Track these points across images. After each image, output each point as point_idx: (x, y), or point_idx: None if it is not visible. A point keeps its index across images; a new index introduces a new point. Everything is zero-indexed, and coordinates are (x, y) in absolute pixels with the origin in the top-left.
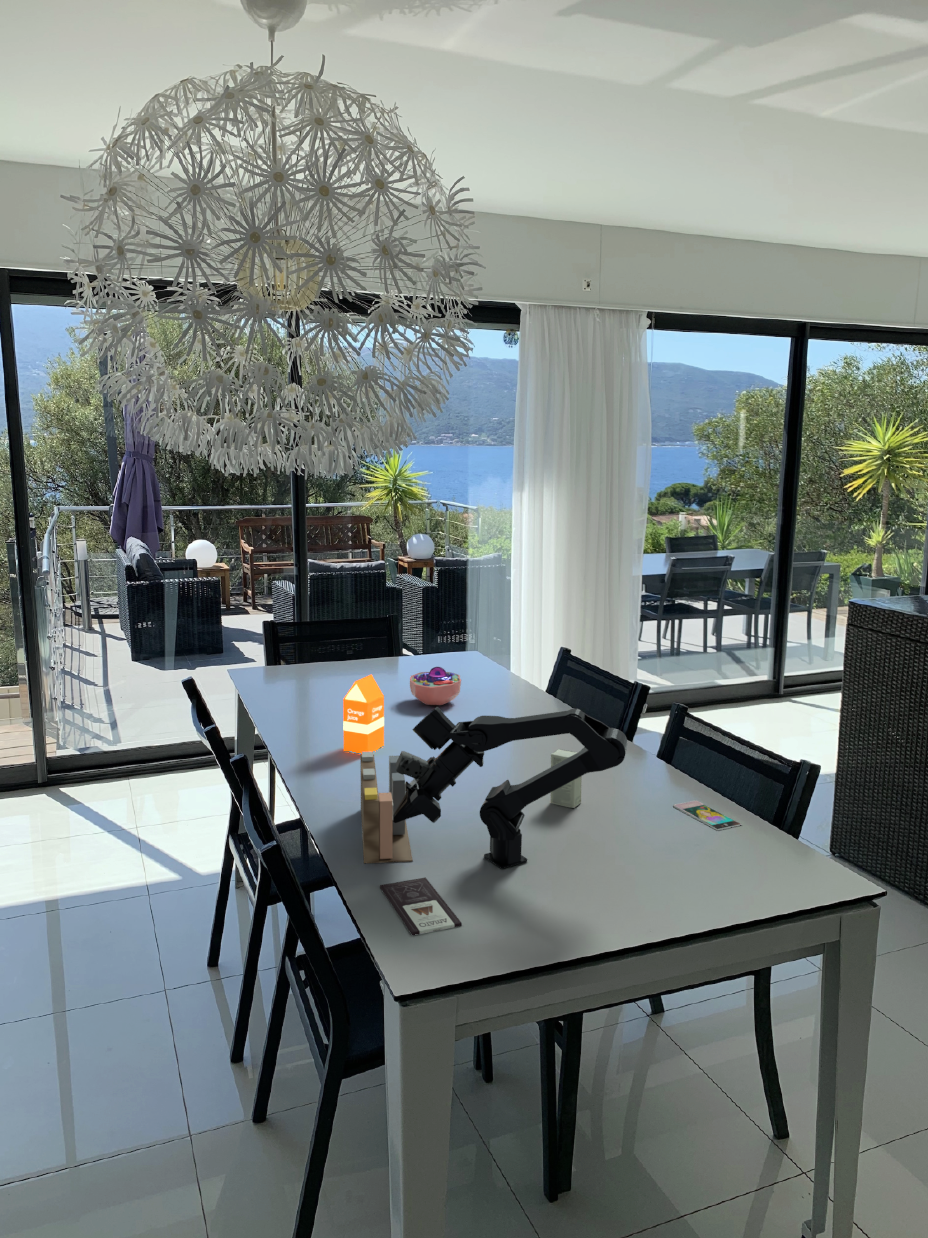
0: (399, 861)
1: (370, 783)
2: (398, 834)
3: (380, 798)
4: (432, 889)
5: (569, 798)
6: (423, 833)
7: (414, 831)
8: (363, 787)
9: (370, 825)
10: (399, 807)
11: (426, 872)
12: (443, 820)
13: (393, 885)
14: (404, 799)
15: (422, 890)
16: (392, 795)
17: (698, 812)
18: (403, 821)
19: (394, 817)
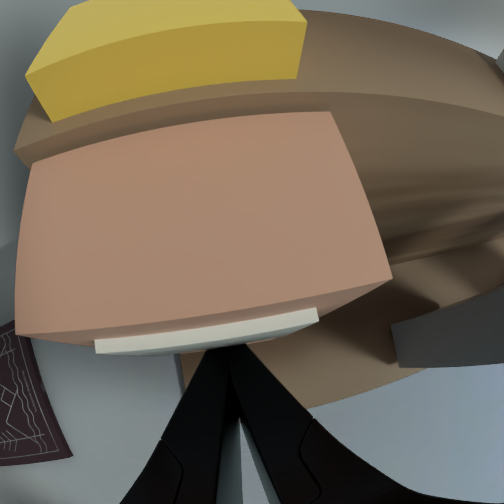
0: (184, 380)
1: (476, 74)
2: (395, 344)
3: (119, 149)
4: (17, 458)
5: None
6: (426, 419)
7: (437, 386)
8: (383, 23)
9: None
10: (244, 414)
11: (118, 466)
12: (493, 439)
13: (18, 356)
14: (279, 494)
15: (7, 432)
16: None
17: None
18: (427, 361)
19: (200, 363)
